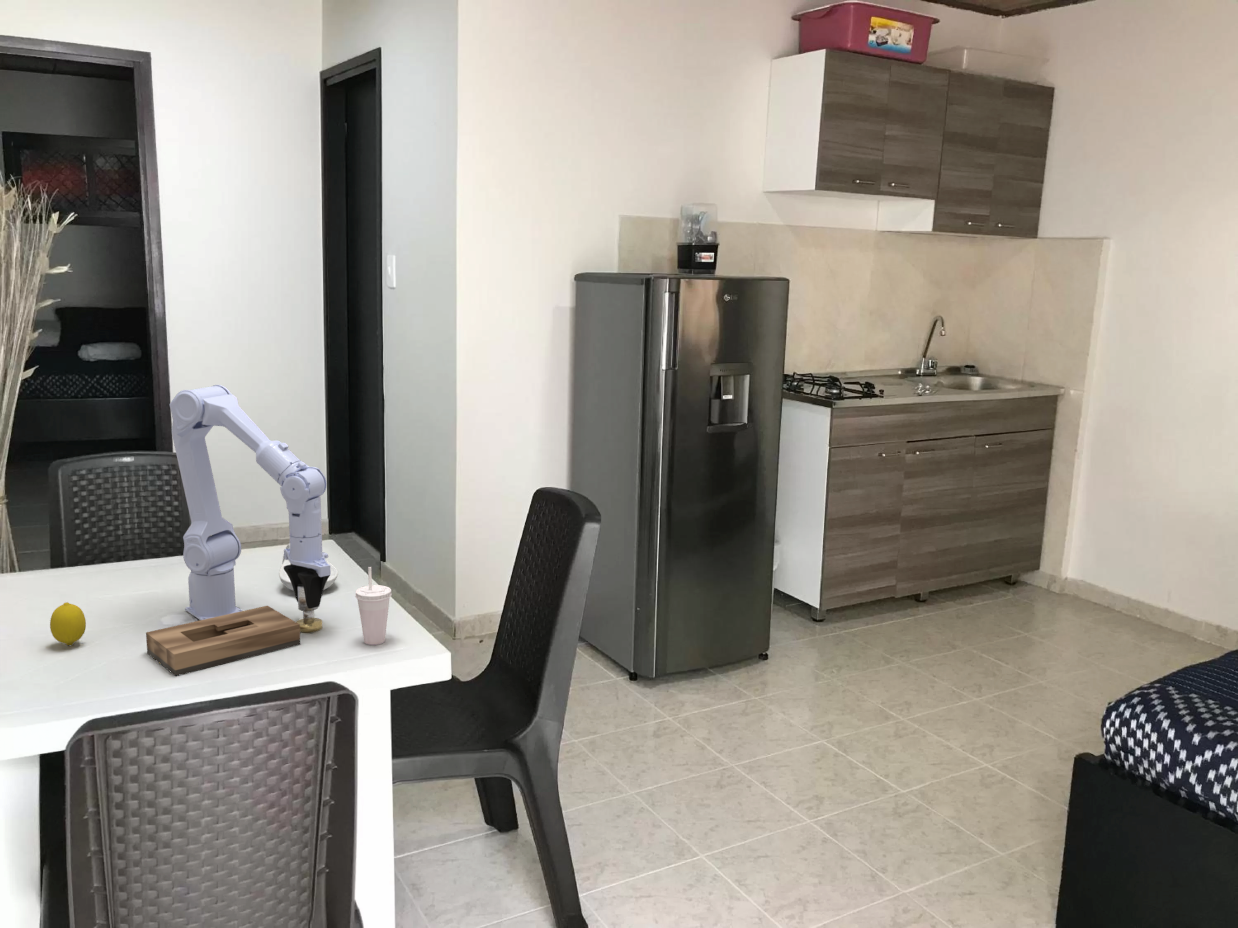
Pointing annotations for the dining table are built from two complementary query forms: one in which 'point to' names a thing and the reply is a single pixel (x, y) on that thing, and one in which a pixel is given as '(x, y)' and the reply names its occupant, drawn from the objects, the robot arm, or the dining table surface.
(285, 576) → the spoon rest
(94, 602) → the dining table surface
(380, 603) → the smoothie
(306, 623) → the peg
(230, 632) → the keyhole board
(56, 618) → the lemon
